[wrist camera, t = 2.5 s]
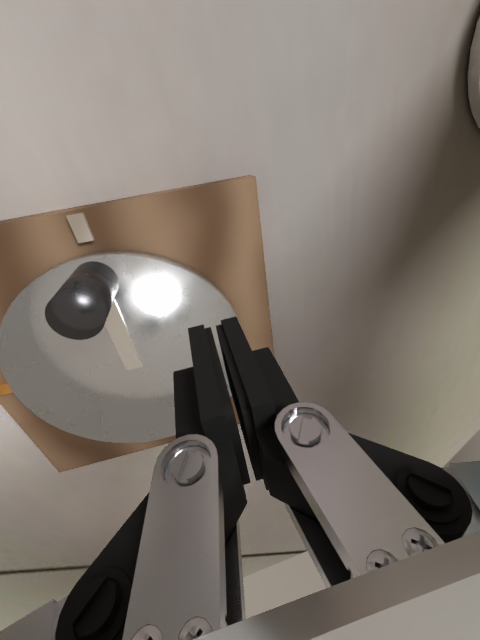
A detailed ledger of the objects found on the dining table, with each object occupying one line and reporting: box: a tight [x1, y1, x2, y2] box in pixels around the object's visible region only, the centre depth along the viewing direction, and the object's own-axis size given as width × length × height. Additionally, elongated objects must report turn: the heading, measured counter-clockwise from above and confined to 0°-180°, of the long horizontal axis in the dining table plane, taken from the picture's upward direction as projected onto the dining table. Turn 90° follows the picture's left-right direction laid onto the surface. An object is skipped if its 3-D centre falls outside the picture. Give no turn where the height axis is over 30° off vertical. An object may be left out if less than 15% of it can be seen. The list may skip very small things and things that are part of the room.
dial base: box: [0, 175, 274, 472], centre depth 23 cm, size 22×22×2 cm
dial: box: [0, 250, 242, 443], centre depth 20 cm, size 17×17×6 cm
